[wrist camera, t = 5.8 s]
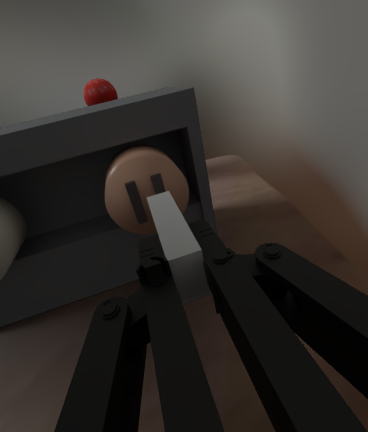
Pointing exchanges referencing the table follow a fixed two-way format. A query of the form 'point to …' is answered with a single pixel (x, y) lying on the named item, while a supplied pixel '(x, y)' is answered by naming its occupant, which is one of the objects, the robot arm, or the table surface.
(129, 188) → the button two
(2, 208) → the button one
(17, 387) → the table surface
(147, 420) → the table surface
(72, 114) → the console
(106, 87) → the stacking toy
